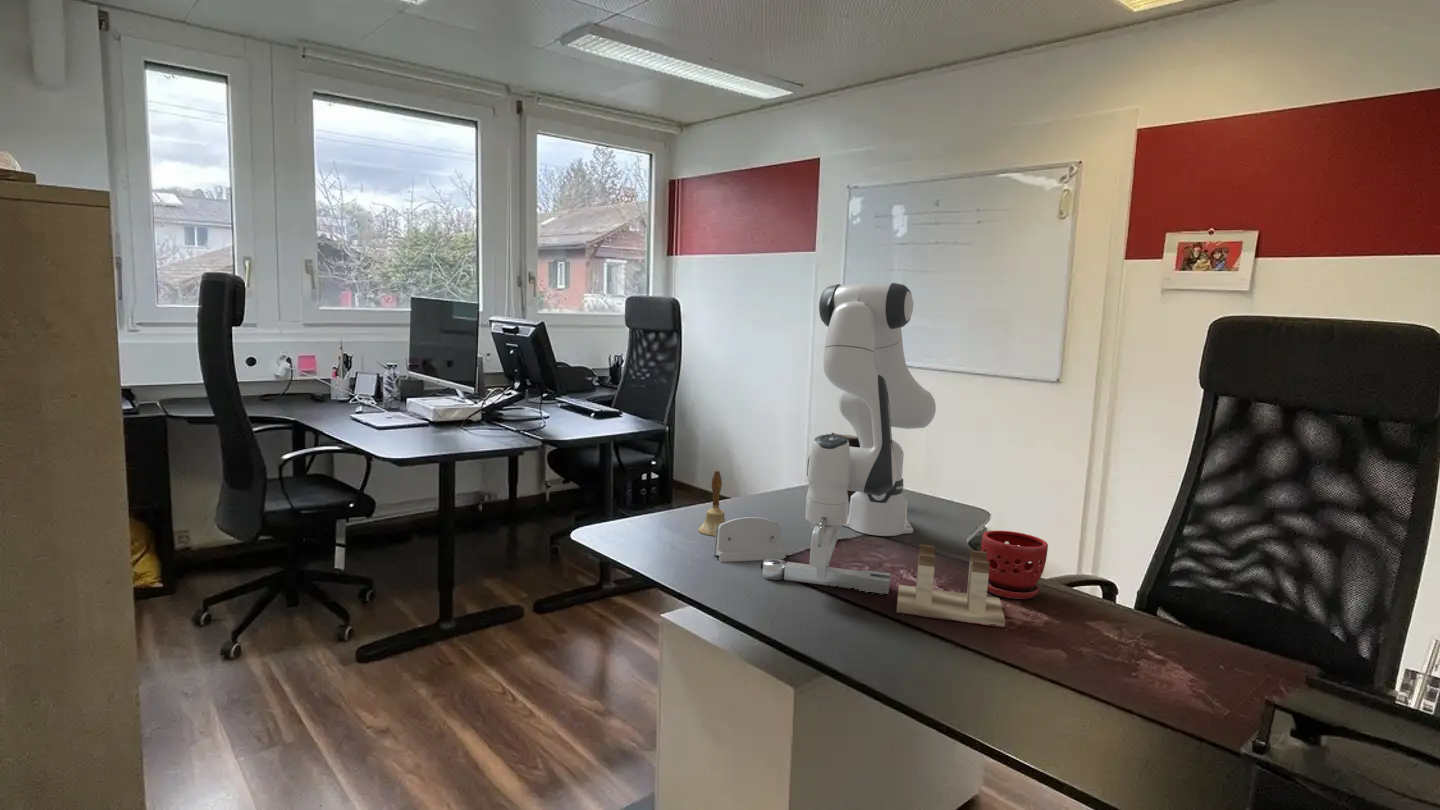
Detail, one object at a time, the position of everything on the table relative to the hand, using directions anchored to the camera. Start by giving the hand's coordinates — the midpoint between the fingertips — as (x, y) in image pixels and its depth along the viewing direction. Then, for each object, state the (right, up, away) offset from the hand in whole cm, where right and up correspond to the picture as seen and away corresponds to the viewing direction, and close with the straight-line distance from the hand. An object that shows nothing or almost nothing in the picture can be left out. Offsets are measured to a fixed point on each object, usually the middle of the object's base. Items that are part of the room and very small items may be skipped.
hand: (822, 574), depth 165 cm
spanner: (0, -2, 0) cm, 2 cm away
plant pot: (+40, -4, 0) cm, 40 cm away
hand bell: (-23, +4, +34) cm, 41 cm away
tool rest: (+24, -4, -11) cm, 26 cm away
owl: (+19, +7, +75) cm, 78 cm away
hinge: (-15, +1, +16) cm, 22 cm away
